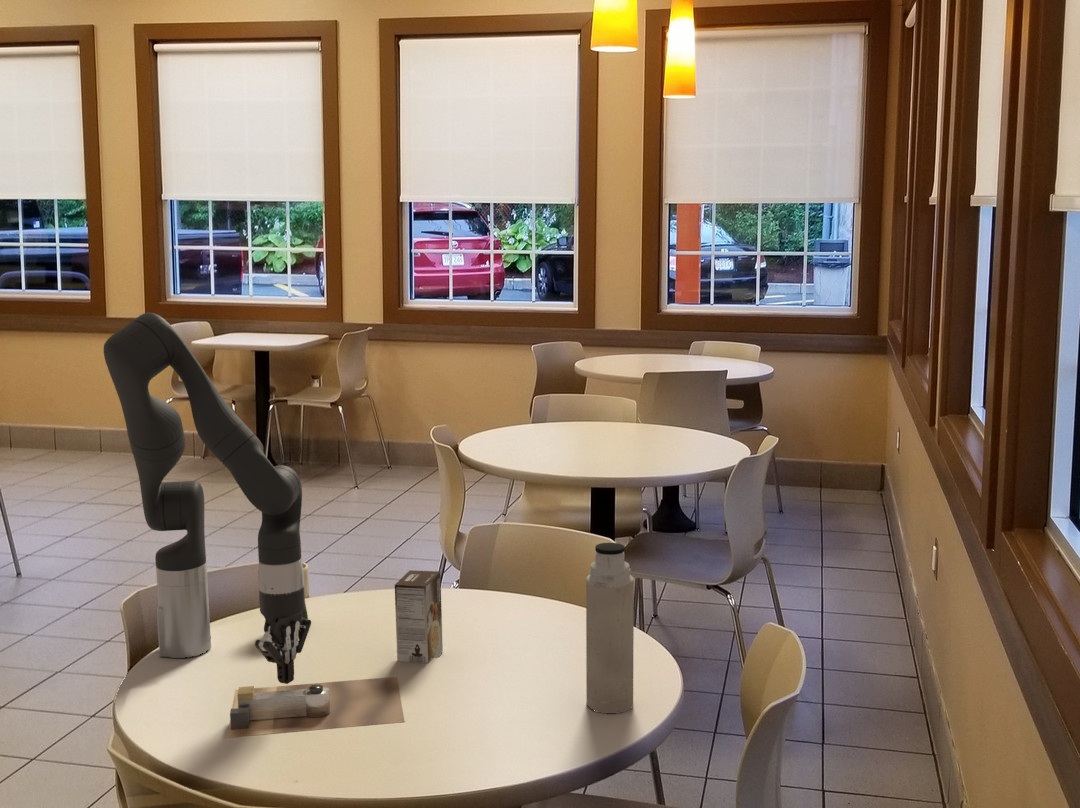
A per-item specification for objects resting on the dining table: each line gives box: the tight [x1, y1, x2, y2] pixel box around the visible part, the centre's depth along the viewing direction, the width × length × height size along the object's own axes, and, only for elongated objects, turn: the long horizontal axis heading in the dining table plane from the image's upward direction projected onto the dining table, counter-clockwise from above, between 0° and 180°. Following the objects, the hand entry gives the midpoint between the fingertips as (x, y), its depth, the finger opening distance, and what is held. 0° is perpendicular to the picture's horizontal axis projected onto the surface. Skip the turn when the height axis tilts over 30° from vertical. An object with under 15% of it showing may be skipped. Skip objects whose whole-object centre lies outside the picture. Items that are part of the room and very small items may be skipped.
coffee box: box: [394, 569, 444, 664], centre depth 215 cm, size 9×6×16 cm
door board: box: [226, 676, 405, 739], centre depth 194 cm, size 28×19×1 cm
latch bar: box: [237, 684, 331, 721], centre depth 189 cm, size 15×4×5 cm, turn 100°
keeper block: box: [229, 707, 250, 730], centre depth 185 cm, size 3×2×3 cm, turn 101°
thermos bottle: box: [585, 542, 635, 714], centre depth 194 cm, size 8×8×28 cm
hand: (286, 681), depth 197 cm, fingers closed
